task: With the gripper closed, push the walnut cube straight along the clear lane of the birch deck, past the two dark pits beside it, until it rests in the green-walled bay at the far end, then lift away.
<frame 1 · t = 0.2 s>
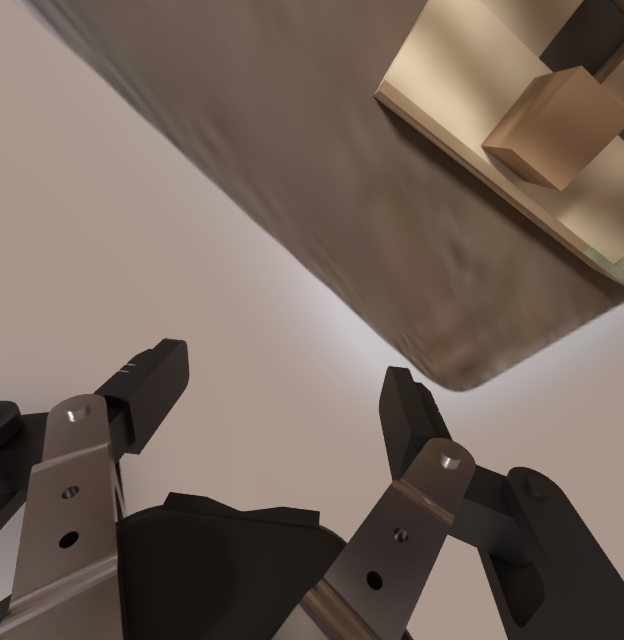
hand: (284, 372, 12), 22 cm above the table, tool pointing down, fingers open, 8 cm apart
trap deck: (558, 114, 25), on the table
walnut block: (528, 133, 24), point 2 cm above the table, touching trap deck
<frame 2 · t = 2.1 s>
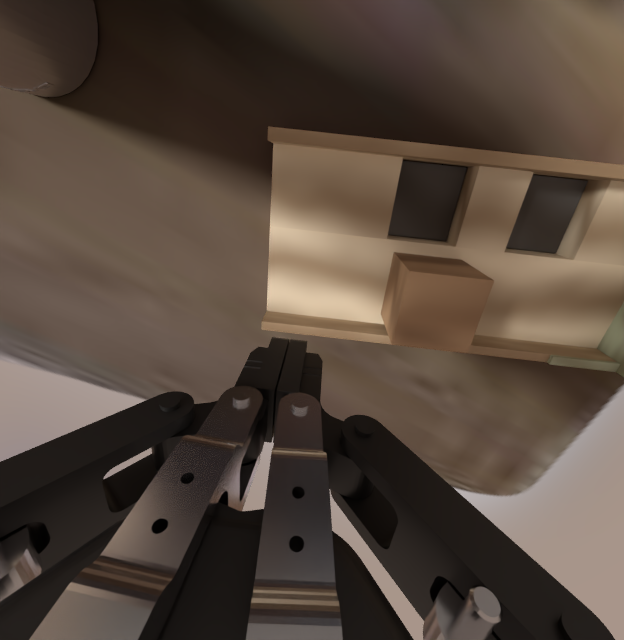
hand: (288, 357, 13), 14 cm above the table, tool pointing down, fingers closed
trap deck: (443, 251, 24), on the table
walnut block: (419, 287, 24), point 2 cm above the table, touching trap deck
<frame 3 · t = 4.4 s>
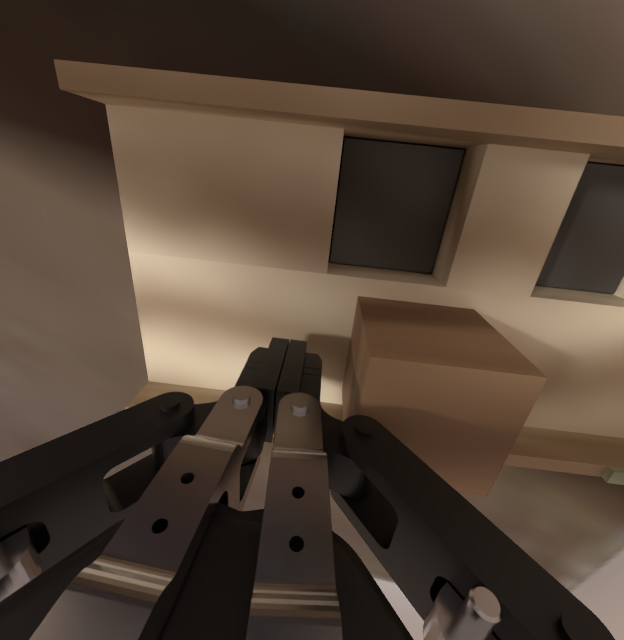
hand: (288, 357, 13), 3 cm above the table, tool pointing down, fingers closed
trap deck: (427, 288, 15), on the table
walnut block: (402, 352, 14), point 2 cm above the table, touching gripper, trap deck
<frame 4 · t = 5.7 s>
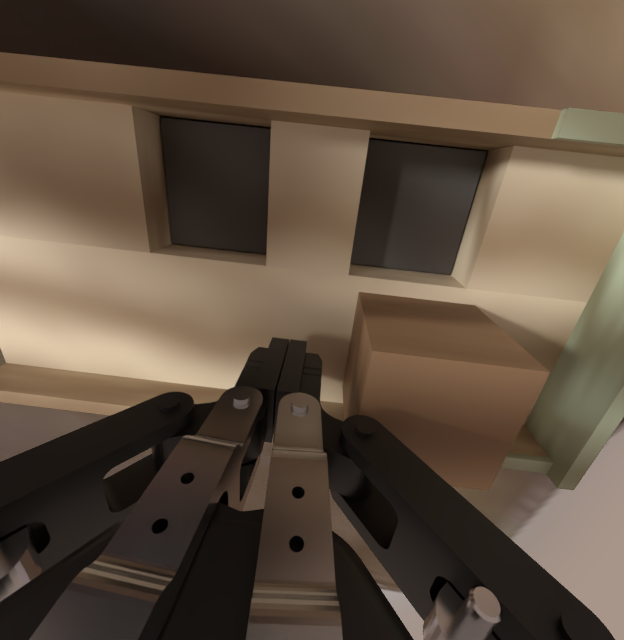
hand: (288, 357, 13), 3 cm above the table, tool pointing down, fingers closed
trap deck: (273, 270, 15), on the table
walnut block: (403, 348, 14), point 2 cm above the table, touching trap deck
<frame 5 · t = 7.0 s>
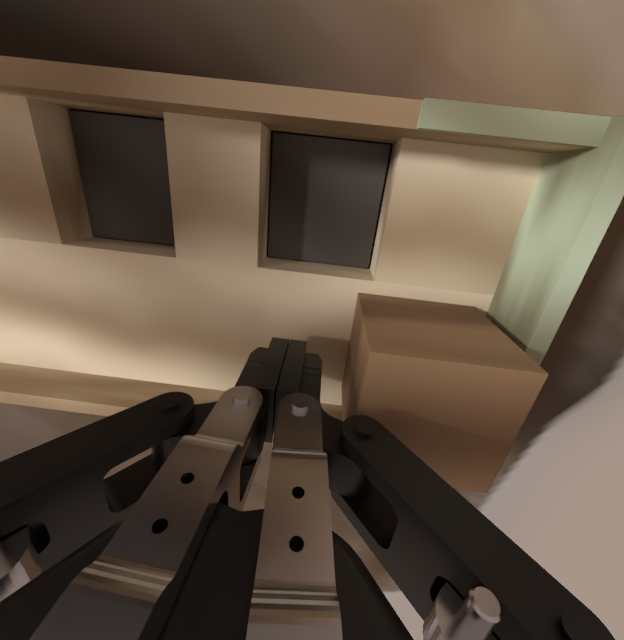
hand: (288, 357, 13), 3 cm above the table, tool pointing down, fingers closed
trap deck: (196, 263, 15), on the table
walnut block: (402, 349, 14), point 2 cm above the table, touching gripper, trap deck
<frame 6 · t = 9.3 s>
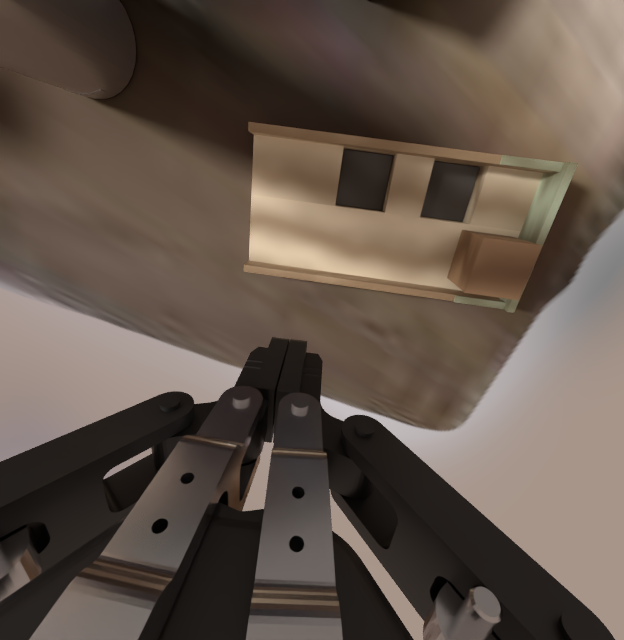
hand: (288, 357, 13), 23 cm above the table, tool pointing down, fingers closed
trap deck: (380, 218, 33), on the table
walnut block: (478, 257, 32), point 2 cm above the table, touching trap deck
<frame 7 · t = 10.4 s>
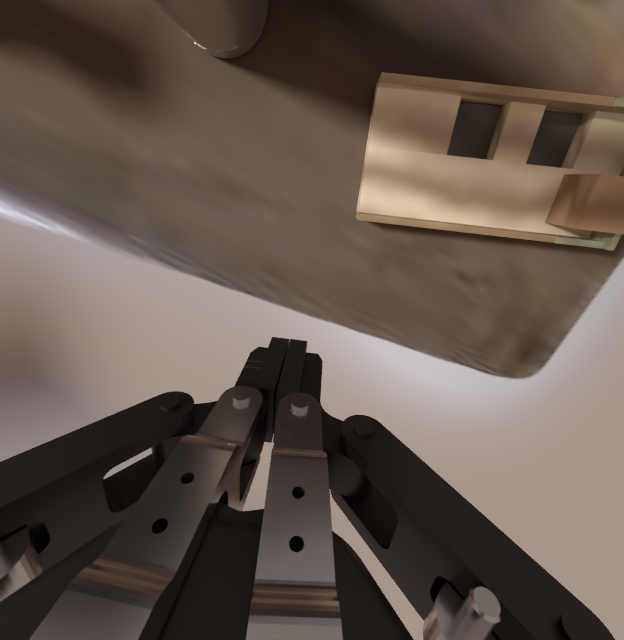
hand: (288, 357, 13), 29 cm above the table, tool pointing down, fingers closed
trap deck: (482, 168, 35), on the table
walnut block: (576, 201, 34), point 2 cm above the table, touching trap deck
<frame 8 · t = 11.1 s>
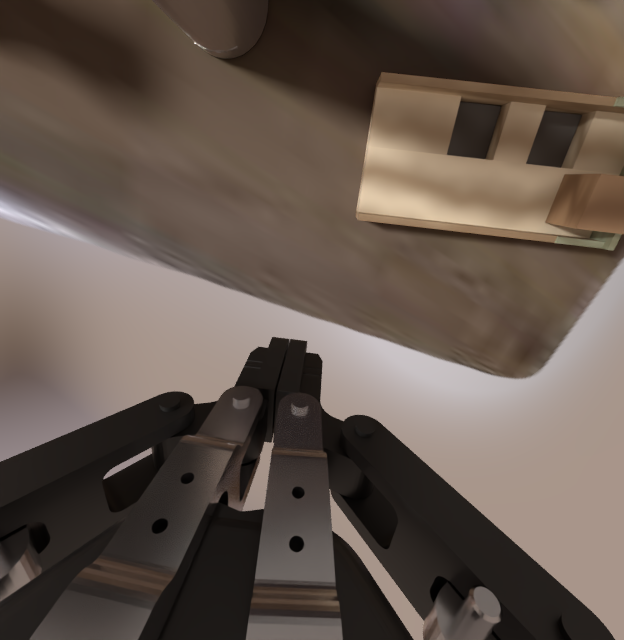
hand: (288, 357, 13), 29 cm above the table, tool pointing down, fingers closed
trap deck: (482, 168, 35), on the table
walnut block: (576, 201, 34), point 2 cm above the table, touching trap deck
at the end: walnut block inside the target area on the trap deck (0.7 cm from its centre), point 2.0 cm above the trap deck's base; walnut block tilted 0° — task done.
